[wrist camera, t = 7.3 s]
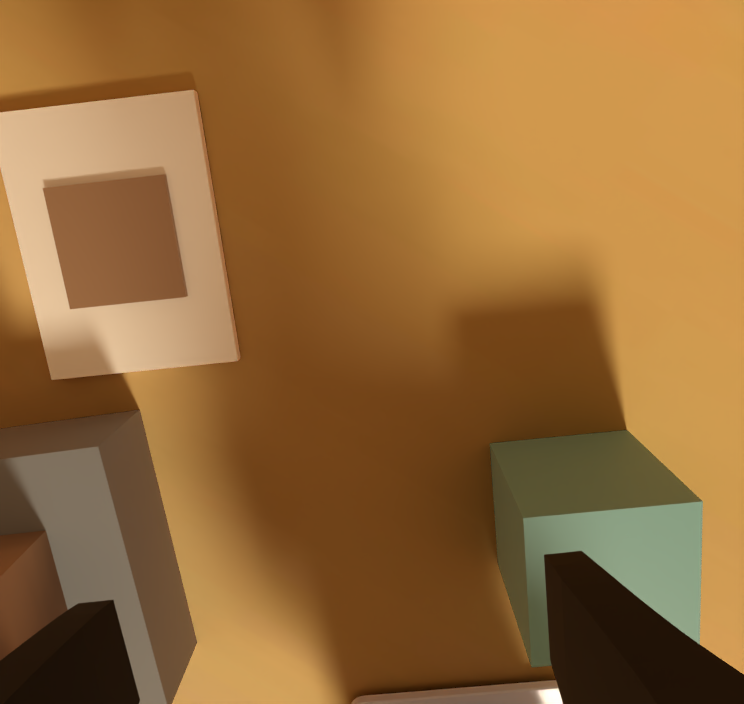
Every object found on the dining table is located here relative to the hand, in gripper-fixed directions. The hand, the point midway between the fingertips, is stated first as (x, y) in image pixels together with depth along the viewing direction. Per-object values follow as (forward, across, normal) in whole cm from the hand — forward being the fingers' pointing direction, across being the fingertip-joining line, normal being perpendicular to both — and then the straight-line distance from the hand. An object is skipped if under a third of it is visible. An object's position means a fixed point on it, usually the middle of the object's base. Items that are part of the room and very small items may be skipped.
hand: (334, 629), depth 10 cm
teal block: (+10, -6, +4) cm, 13 cm away
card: (+10, +6, -6) cm, 14 cm away
